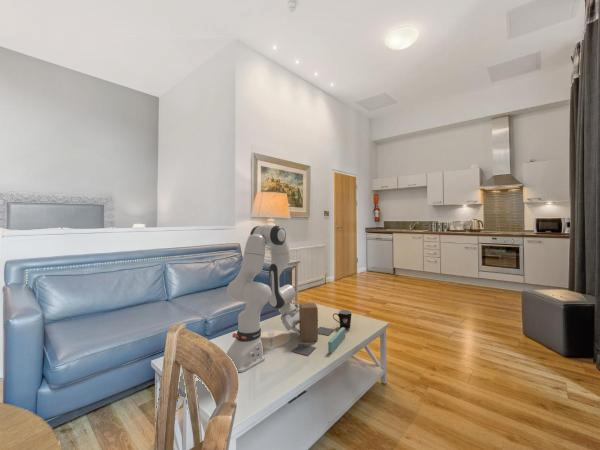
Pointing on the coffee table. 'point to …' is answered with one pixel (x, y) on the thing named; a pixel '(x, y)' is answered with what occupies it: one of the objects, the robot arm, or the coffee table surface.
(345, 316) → the coffee mug
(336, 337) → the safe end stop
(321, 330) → the mats
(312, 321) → the block
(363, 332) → the coffee table surface
